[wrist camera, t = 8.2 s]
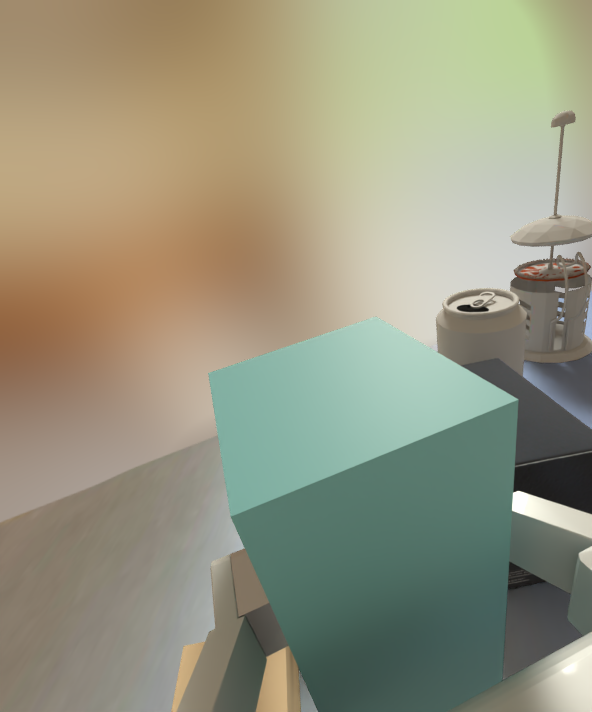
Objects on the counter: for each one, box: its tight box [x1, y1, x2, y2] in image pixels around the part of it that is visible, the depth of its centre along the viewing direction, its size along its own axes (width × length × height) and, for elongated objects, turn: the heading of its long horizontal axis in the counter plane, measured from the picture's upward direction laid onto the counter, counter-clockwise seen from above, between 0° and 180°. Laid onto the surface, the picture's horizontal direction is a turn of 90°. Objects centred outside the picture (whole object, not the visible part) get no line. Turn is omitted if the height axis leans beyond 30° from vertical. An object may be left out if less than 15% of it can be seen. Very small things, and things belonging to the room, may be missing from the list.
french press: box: [510, 111, 592, 363], centre depth 39 cm, size 10×12×25 cm
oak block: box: [171, 642, 301, 712], centre depth 20 cm, size 6×4×4 cm, turn 93°
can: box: [436, 288, 527, 377], centre depth 35 cm, size 8×8×12 cm
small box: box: [460, 358, 592, 589], centre depth 25 cm, size 11×6×10 cm, turn 3°
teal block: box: [208, 317, 519, 712], centre depth 9 cm, size 4×4×11 cm
